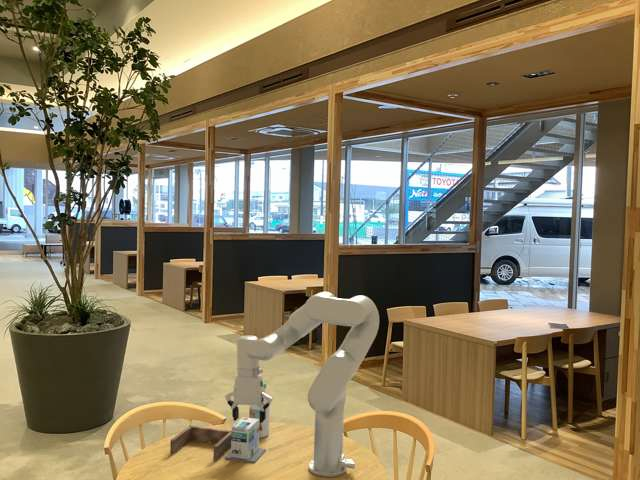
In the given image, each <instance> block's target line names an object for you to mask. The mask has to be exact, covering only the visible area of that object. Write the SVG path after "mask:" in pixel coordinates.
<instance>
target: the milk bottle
mask: <svg viewBox="0 0 640 480" xmlns="http://www.w3.org/2000/svg"><path fill="white" fill-rule="evenodd" d="M263 385H264V393H265V394H267V392H266V391H267V383H266V381H263ZM263 402H264V404H266V403H267V400H266V399H265V398H264V401H263ZM270 406H271V405H270ZM270 406H269V407H268V408H267V409H266V418H265V420H264V421H263V422H262V423H260V422H259V439H261V438H265V437H268V436H269V434H270V418H271V417H270V416H271V415H270V413H271V407H270ZM260 411H261V410H260V408H259V407H258V406H253V405H249V413H248V414H249V415H248V418H253V419H259V420H260Z"/></svg>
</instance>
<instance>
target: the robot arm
mask: <svg viewBox="0 0 640 480" xmlns="http://www.w3.org/2000/svg"><path fill="white" fill-rule="evenodd" d="M322 323H324V324H328V325H334V326H335V325H336V326H344V327H350V330H349V331H348V332H347V334H346V336H345V338H344V339H343V341H342V343H341V345H340V346H339V347H338V348H337V350H336V351H335V352H333V354H331V355H330V356H329V357H328V358H327V359H326V360H325V362H324V363H323V365H322V367H321V368H320V370H319V372H318V373H317V375H316V376H315V379H314V380H313V382H312V384H311V386H310V387H309V390H308V392H307V402H308V404H309V406H310V408H311V409H312V410H313V411H315V413H314V415H315V416H314V439H313V440H314V441H313V460H311V461H310V462H309V464H308V470H309V472H311V473H312V474H314V475H316V476H319V477H326V478H335V477H339V476H341V475H344V474H345V473H346V471H347V469H352V470H353V469H355V467H356V465H355V464H356V463H355V462H354V461H353V460H352V459H347V458H346V457H345V453H343V446H344V445H343V441H344V421H345V420H344V419H345V407H346V406H345V404H346V398H347V386H348V384H349V382H350V380H351V379H352V378H353V377H354V376H355V375H356V374H357V372H358V370H359V369H360V366H361V364H362V362H363V360H364V359H365V357H366V356H367V353H368V352H369V350H370V348H371V346H372V344H373V343H374V341H375V339H376V337H377V335H378V331H379V327H380V314H379V310H378V308H377V306H376V304H375V303H374V301H373V300H372V299H371V298H369V297H368V296H366V295H354V296H352V297H351V298H338V297H336V296H335V295H334V294H333V293H332V292H328V291H320V292H318V293H316V294H313V295H311V296H310V297H309V298H308V299H307V300H306V302H305V303H304V304H303V305H302V306H300V307H299V308H297V309H296V310H295V311H294V312H292V313H291V314H290V315H289V317H288V319H287V321H286V322H285V323H284V324H283V325H281V326H279V328H278V329H276V330H274V331H273V332H272V333H271V334H268V335H266V336H264V337H261V338H258V337H257V336H256V335H250V334H249V335H242V336H239V337H237V341H236V366H237V368H236V369H237V374H236V375H235V379H234V386H233V391H231V392H229V393H228V394H226V395H224V398H225V400H226V401H227V402H226V403H227V405H229V407H230V409H231V411H232V413H231V415H232V418H233V421H234V422H235V421H236V422H237V421H238V419H239V418H240V415H239V414H240V413H239V412H240V411H239V406H238V405H243V406H250V405H253V406H258V407H259V408H260V410H261V411H260V423H262V422H263V421H264V420H265V418H266V409H267V408H268V407H269V406H271V403H272V402H273V400H274V398H273V397H272V396H270V395H269V394H268V393H266V394H265V393H264V385H263V382H264V380H263V377H262V376H263V375H262V374H263V372H264V370H263V368H260V367H261V366H260V361H264V362H265V361H270V360H272V359H274V358H275V357H277V356H278V355H280V354H282V353H283V352H285V351H286V350H287V349H288V348H290V347H291V346H292V345H294V344H295V343H296V342H298V341H299V340H300V339H301V338H304V337H306V335H308V334H309V333H310V332H312V331H314V329H315V328H317V327H318V326H319V325H321V324H322ZM232 397H233V399H232ZM264 398H265V399H266V400H267V403H266V404H264V402H263V401H264Z"/></svg>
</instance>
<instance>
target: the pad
mask: <svg viewBox="0 0 640 480" xmlns="http://www.w3.org/2000/svg"><path fill="white" fill-rule="evenodd" d="M265 452H266V448H263V447H262V448H261V447H259V449H258V450H257V451H256V452H255V453H254V454H253V455H252V456H251V457H250V458H249V459H248V460H247V459H241V458H234V457H231V450H230V451H229V452H228V453H227V454H226V455H224V459H225V460H231V461H237V462H242V463H243V462H245V463H250V464H251V463H252V464H256V463H257V462H258V460H259V459H260V458H261V457H262V456H263V454H264V453H265Z"/></svg>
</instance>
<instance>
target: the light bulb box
mask: <svg viewBox="0 0 640 480" xmlns="http://www.w3.org/2000/svg"><path fill="white" fill-rule="evenodd" d="M259 422H260V420H259V419H253V418H249V417H246V416H242V417H241V418H240V419H239V420H237V421H236V422H235V423H234V424H233V425H232V426H231V430H230V431H231V448H230V451H231V457H234V458H241V459H247V460H248V459H249V458H250V457H251V456H252V455H253V454H254V453H255V452H256V451H257V450H258V449H259V448H260V438H259Z"/></svg>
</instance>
